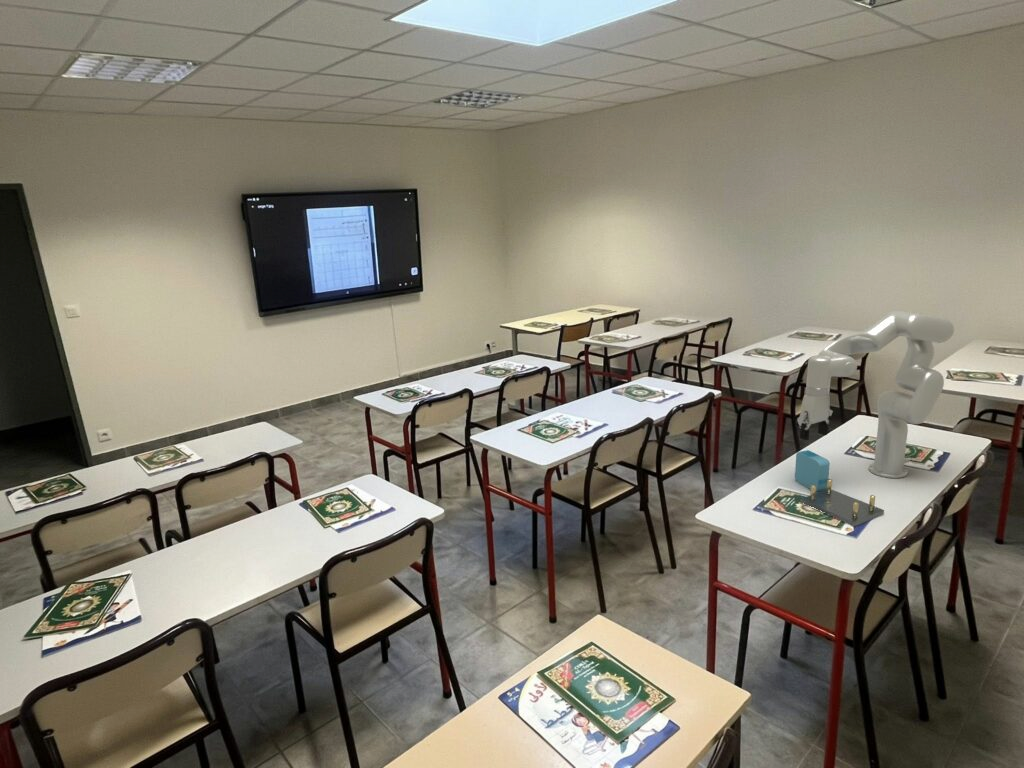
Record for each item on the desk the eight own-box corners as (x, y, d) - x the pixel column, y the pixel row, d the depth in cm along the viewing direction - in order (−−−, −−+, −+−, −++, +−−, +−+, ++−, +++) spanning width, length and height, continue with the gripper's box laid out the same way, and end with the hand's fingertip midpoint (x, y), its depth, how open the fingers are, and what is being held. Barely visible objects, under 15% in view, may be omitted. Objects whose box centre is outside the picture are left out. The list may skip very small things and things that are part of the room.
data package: (827, 491, 219) (830, 460, 216) (816, 493, 218) (819, 462, 215) (804, 478, 230) (806, 448, 227) (794, 480, 229) (796, 450, 226)
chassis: (828, 492, 219) (830, 475, 217) (883, 514, 201) (885, 496, 200) (800, 503, 212) (801, 485, 210) (854, 526, 195) (856, 508, 193)
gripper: (824, 384, 222) (820, 429, 226) (791, 392, 214) (787, 438, 219) (843, 389, 215) (838, 434, 220) (810, 397, 208) (806, 444, 212)
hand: (813, 436), depth 219 cm, fingers open, 9 cm apart
